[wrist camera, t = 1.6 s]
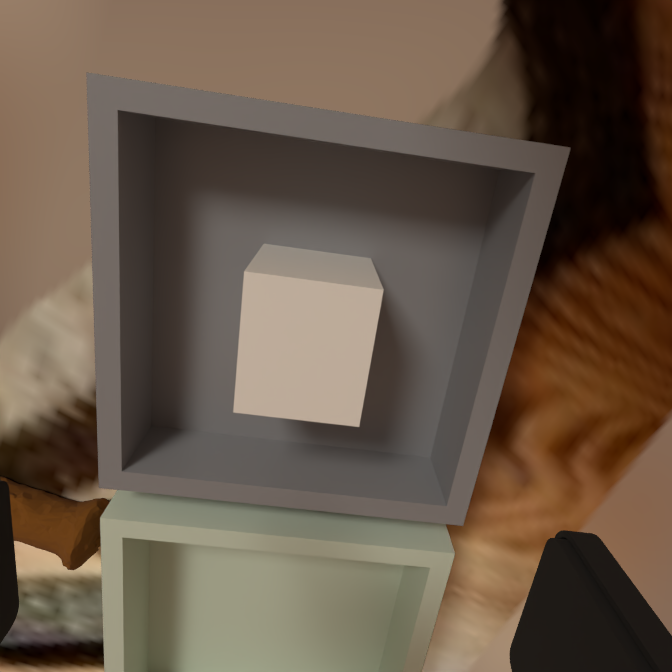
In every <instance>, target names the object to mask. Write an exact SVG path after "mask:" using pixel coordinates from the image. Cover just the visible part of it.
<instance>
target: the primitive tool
mask: <svg viewBox="0 0 672 672" xmlns="http://www.w3.org/2000/svg"><path fill="white" fill-rule="evenodd" d="M0 479H1V481H5V482H7V484H8V486H9V492H10V504H11V515H12V527H13V539H14V541H20V542H22V543H25V544H28V545H31V546H34V547H36V548H39V549H43V550H46V551H49V552H52V553H54V554H56V555H58V556H59V557H60V558H61V560H62V563H63V566H65V567H67V569H68V570H75V569H77V568H79V567H80V566H82V565H83V564H84V563H85V562H86V561H87V560H88V559H89V558H90V557H91V556H92V555H93V554H95V553H96V552H97V551H98V547H99V546H101V536H100V517H101V515H102V514H103V512H104V511H105V509H106V507H107V506H108V504H109V502H108V500H107V499H105V498H101V499H93V500H89V501H84V502H77V501H73V500H69V499H65V498H61V497H59V496H57V495H54V494H50V493H48V492H45V491H43V490H38V489H34V488H31V487H28V486H27V485H22V484H18V483H16V482H13V481H12V480H10V479H8V478H6V477H2V476H0Z"/></svg>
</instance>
